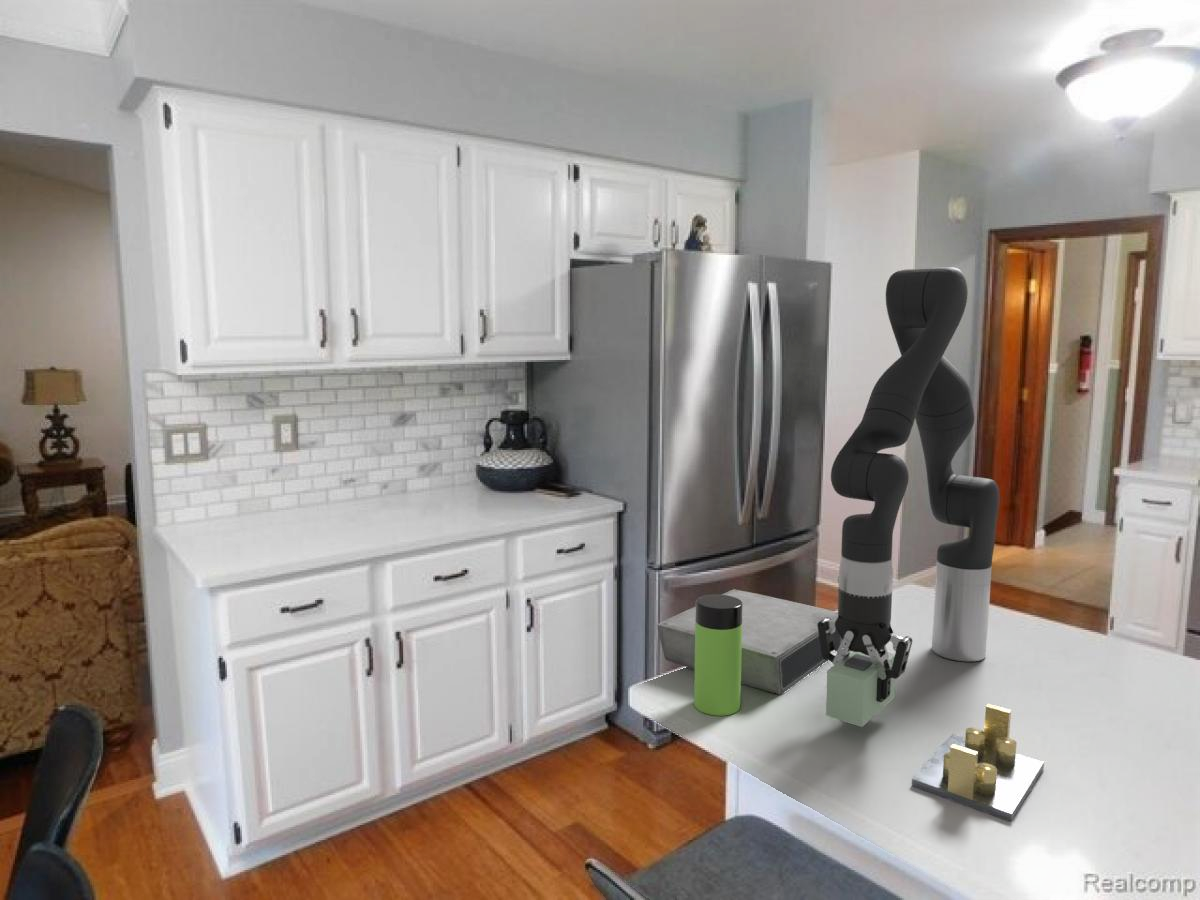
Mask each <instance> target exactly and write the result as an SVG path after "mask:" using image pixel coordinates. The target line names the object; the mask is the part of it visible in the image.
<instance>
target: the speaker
mask: <svg viewBox="0 0 1200 900" xmlns="http://www.w3.org/2000/svg"><path fill="white" fill-rule="evenodd" d="M721 595H728V596H732V597H735V598H738V599H739V600H741V601H742V603H743V609H742V651H741V684H742V685H744V686H748V687H751V688H754V687H755V689H758V688H759V689H758V690H761V689H762V691H765V692H768V691H769V693H771V694H772V693H773V694H775V693H776V694H777V695H779V696H781V695H780V694H783V693H784V692H785V691H787V690H788V689H790V688H791V687H792V686H794V685H795V684H796V683H798V682H799V681H800V682H802V681H803V680H804V679H803V678H804V677H806V676H807V675H808V674H810V673H811V672H813V671H814V670H815V669H817V668H818V667H819V666H821V665H822V664H823V663H825V662H826V661H827V662H829V661H828V660H825V659H823V657H822V652H821V646H820V639H819V632H818V626H817V624H818V622H820V621H821V620H823V619H825V618H826V617H828V618H830V619H831V620H837V618H838V611H833V610H830V609H827V608H826V609H825V608H822V607H818V606H812V605H808V604H803V603H800V602H795V601H793V600H792V601H791V600H787V599H782V598H777V597H774V596H769V595H764V594H760V593H756V592H755V593H754V592H749V591H744V590H738V589H731V590H729V591H727V592H724V593H722V594H721ZM695 616H696V606H693V607H691V608H689V609H687V610H684V611H682V612H680V613H678V614H676V615H674V616H671V617H669V618H667V619H665V620H663V621H660V622H659V623H658V624H657V631H658V635H659V640H660V644H661V648H662V653H663V656H664V659H665V660H666V661H667V662H668V661H669V662H671V663H674V664H676V665H680V666H683V667H687V668H689V669H691V670H695ZM834 640H835V647H836V651H837V650H838V648H839V646H840V644H841V643H842V641H843V640H842V638H841V636H840V634H839V633H838V631H837V629H836V628H835V632H834ZM827 662H826V663H827ZM826 663H825V664H826ZM823 665H824V664H823ZM823 665H822V666H823ZM822 666H821V667H822ZM819 668H820V667H819ZM819 668H818V669H819ZM818 669H817V670H818ZM815 671H816V670H815ZM815 671H814V672H815ZM814 672H813V673H814ZM811 674H812V673H811ZM811 674H810V675H811ZM807 677H808V676H807ZM807 677H806V678H807ZM802 679H803V680H802ZM801 680H802V681H801ZM800 682H799V683H800ZM799 683H798V684H799ZM796 685H797V684H796ZM796 685H795V686H796ZM795 686H794V687H795ZM792 688H793V687H792ZM792 688H791V689H792ZM791 689H790V690H791ZM788 691H789V690H788ZM788 691H787V692H788ZM776 694H775V695H776ZM784 694H785V693H784ZM784 694H783V695H784Z"/></svg>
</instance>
